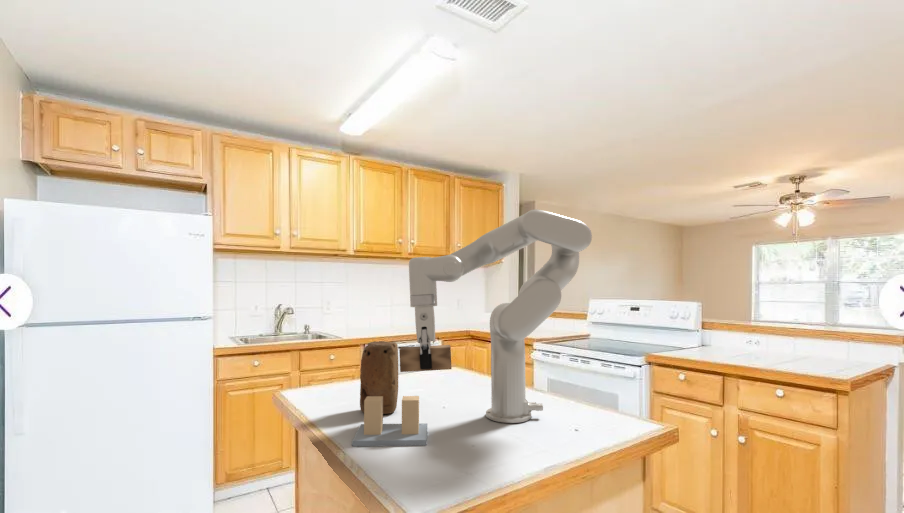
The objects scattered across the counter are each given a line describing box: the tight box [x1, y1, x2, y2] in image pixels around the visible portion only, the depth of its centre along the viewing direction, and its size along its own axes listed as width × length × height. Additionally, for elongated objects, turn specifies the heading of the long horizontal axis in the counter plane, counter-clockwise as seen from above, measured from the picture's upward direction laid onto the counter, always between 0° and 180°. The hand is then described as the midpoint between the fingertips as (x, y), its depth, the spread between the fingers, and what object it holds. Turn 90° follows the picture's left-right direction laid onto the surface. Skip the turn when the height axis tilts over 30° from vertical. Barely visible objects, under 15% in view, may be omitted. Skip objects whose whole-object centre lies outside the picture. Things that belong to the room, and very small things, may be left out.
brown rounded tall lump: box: [359, 340, 399, 415], centre depth 130 cm, size 11×8×20 cm
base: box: [351, 395, 428, 447], centre depth 108 cm, size 17×12×9 cm
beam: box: [398, 344, 453, 373], centre depth 123 cm, size 14×4×6 cm, turn 92°
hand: (426, 366), depth 123 cm, fingers closed on beam, 4 cm apart
